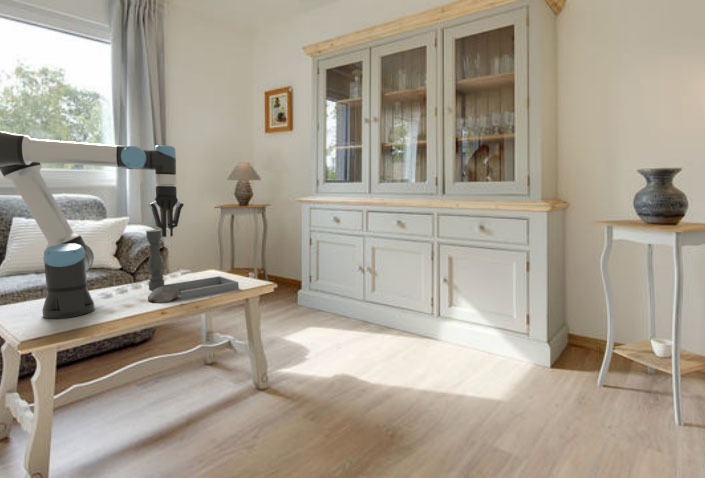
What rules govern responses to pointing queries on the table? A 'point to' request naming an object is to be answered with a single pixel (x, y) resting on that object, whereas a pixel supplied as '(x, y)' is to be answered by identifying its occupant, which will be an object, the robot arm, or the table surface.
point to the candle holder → (155, 259)
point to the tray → (225, 286)
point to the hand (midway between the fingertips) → (167, 244)
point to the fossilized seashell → (164, 294)
